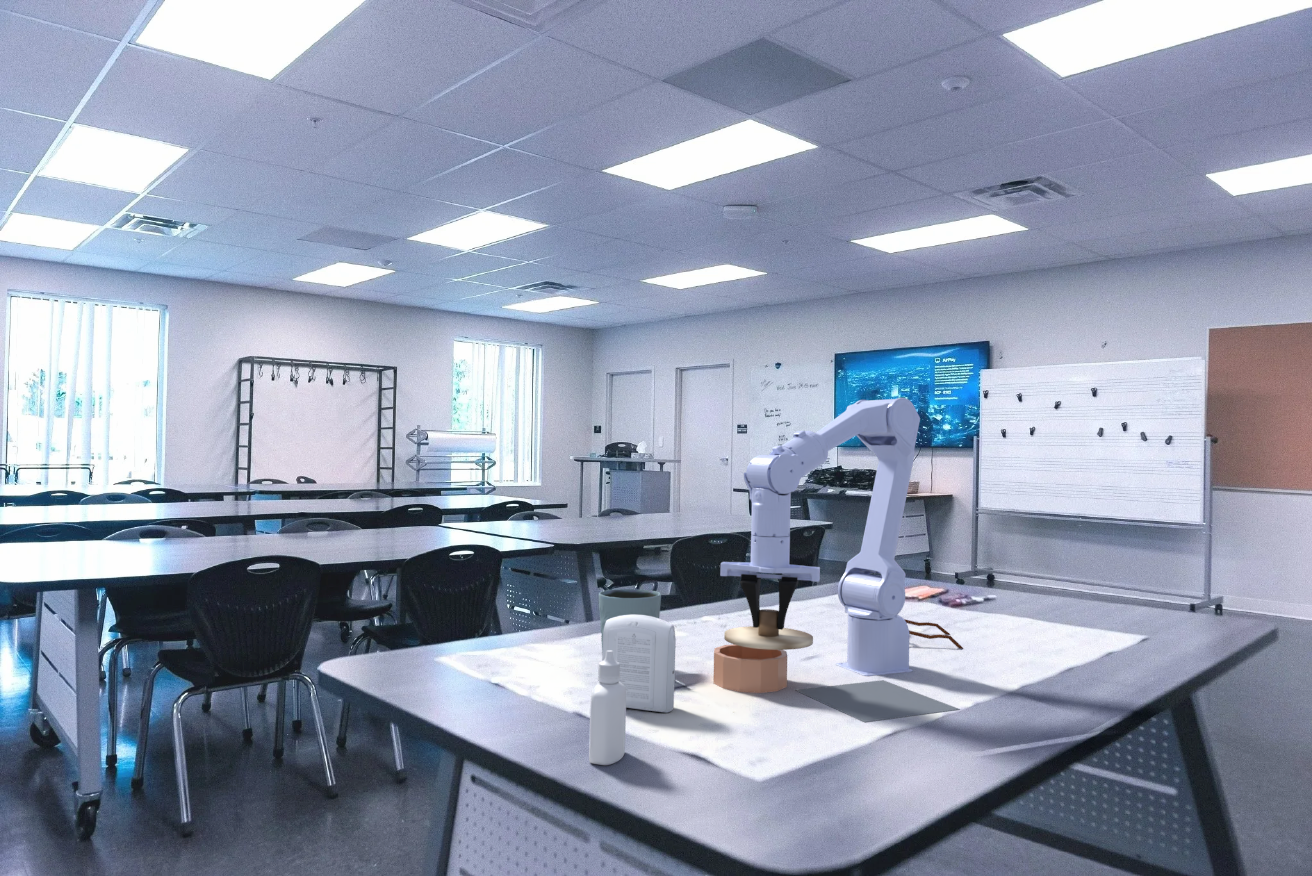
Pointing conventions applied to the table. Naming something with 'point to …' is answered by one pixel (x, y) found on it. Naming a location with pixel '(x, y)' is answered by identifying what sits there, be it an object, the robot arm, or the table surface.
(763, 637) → the lid
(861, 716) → the mat
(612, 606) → the green plant pot
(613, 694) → the eye dropper bottle
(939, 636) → the glasses
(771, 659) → the bowl
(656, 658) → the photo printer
